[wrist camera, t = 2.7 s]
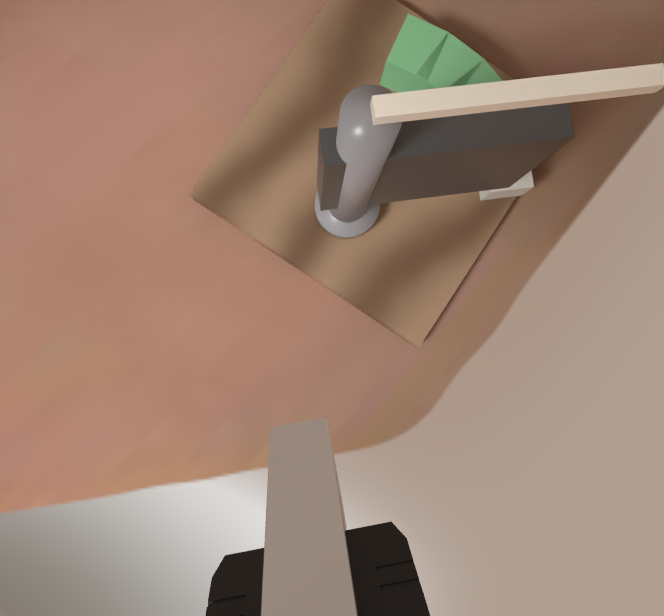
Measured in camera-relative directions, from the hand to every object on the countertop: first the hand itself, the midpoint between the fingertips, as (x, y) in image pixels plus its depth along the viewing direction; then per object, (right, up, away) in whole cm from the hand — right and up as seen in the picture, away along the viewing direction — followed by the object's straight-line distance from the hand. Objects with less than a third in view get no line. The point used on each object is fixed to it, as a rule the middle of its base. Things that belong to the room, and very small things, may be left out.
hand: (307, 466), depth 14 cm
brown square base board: (+4, +15, +23) cm, 28 cm away
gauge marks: (+9, +17, +23) cm, 30 cm away
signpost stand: (+7, +12, +22) cm, 26 cm away
